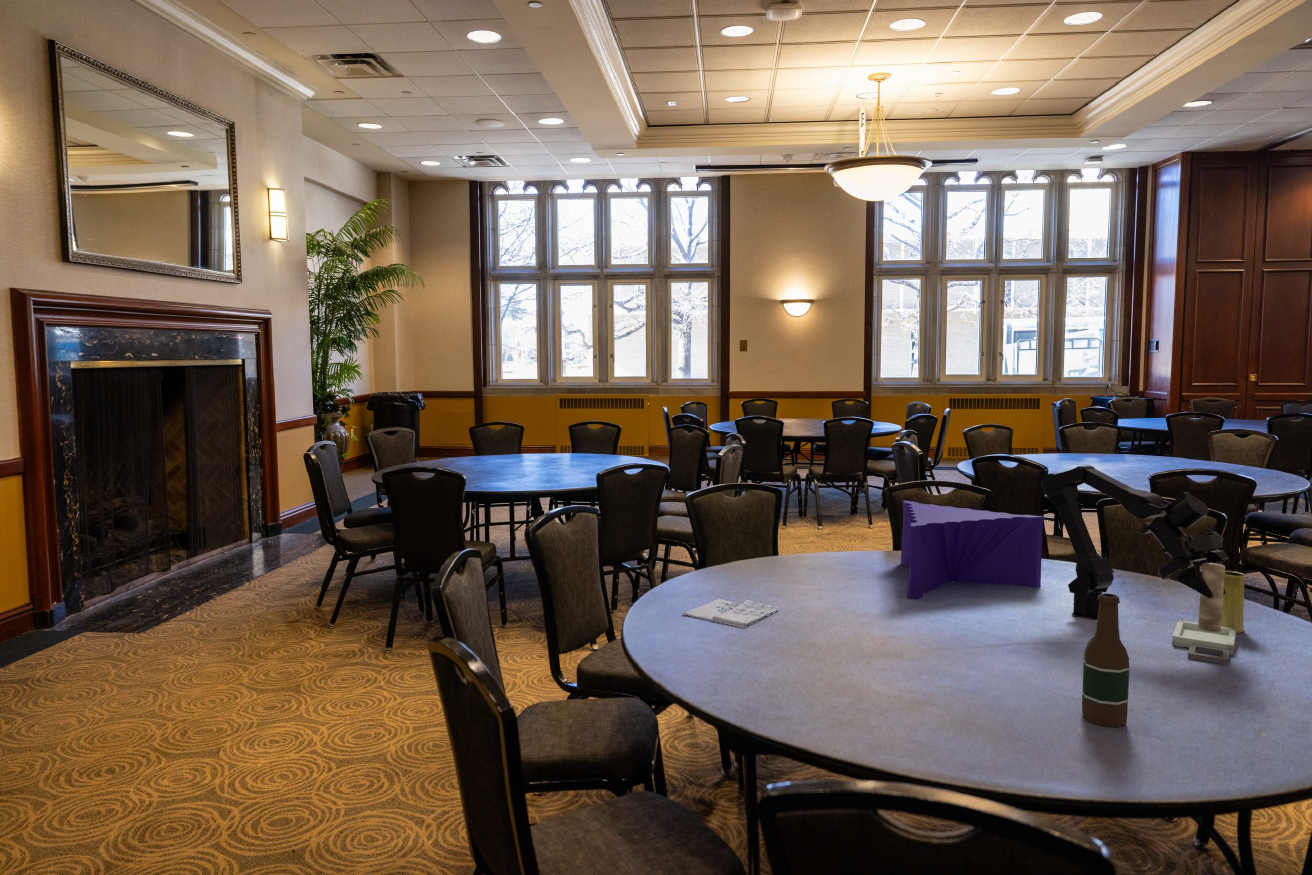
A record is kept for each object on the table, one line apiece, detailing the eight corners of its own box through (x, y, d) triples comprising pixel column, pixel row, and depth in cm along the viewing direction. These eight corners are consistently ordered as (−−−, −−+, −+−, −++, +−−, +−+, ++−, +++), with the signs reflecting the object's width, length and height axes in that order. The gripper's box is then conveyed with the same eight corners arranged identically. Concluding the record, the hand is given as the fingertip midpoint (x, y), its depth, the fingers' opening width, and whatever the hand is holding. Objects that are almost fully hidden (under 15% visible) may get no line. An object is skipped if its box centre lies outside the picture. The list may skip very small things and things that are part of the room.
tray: (1172, 644, 202) (1172, 635, 202) (1177, 628, 214) (1178, 620, 214) (1233, 654, 195) (1233, 645, 195) (1235, 637, 207) (1235, 628, 207)
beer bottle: (1072, 711, 164) (1076, 590, 162) (1110, 710, 165) (1115, 588, 163) (1096, 729, 157) (1101, 601, 154) (1136, 727, 157) (1142, 600, 155)
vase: (1248, 633, 209) (1251, 577, 208) (1221, 632, 211) (1224, 575, 209) (1237, 626, 215) (1240, 570, 214) (1210, 624, 217) (1213, 569, 215)
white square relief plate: (744, 631, 217) (744, 622, 217) (680, 617, 229) (680, 609, 229) (781, 612, 232) (781, 605, 232) (718, 600, 244) (718, 593, 244)
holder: (1187, 658, 193) (1187, 652, 193) (1190, 648, 199) (1190, 643, 199) (1227, 664, 188) (1228, 659, 188) (1229, 655, 195) (1229, 650, 194)
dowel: (1198, 629, 196) (1203, 566, 195) (1197, 624, 200) (1201, 561, 199) (1221, 632, 194) (1226, 568, 193) (1220, 627, 198) (1224, 564, 196)
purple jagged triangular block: (903, 563, 286) (904, 500, 284) (1042, 586, 255) (1044, 516, 253) (840, 586, 257) (841, 516, 255) (988, 616, 226) (990, 536, 224)
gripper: (1174, 523, 194) (1221, 582, 185) (1222, 516, 202) (1270, 572, 194) (1139, 550, 202) (1182, 608, 193) (1187, 542, 210) (1231, 597, 201)
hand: (1217, 595), depth 195 cm, fingers closed on dowel, 4 cm apart
